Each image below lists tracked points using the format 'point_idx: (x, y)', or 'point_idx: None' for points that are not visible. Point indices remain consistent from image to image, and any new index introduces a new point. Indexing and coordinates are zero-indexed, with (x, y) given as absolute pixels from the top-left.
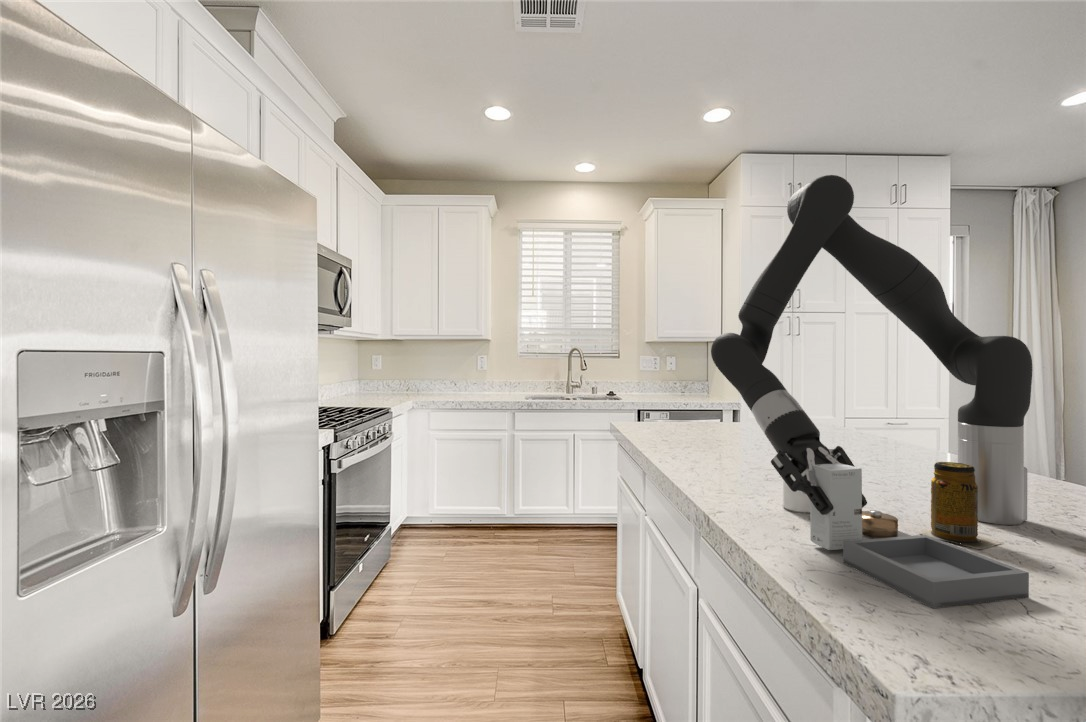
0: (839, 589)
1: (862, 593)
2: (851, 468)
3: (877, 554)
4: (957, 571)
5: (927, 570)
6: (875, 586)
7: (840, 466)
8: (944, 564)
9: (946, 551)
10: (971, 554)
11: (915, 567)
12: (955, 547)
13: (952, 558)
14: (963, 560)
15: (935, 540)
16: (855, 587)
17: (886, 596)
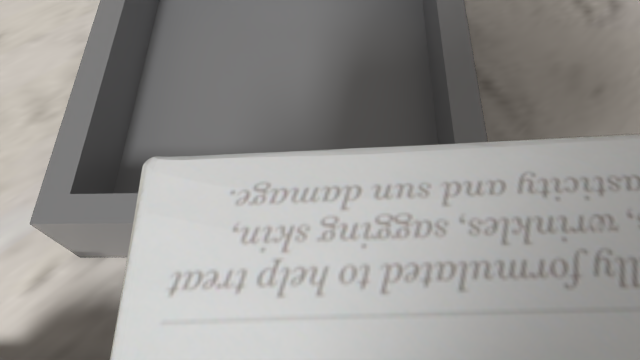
0: (626, 81)
1: (568, 53)
2: (319, 171)
3: (456, 74)
4: (169, 90)
5: (253, 110)
6: (494, 81)
7: (430, 322)
8: (146, 138)
9: (106, 123)
10: (114, 33)
11: (269, 134)
12: (91, 86)
13: (117, 115)
14: (124, 75)
15: (74, 156)
16: (565, 85)
17: (508, 32)
